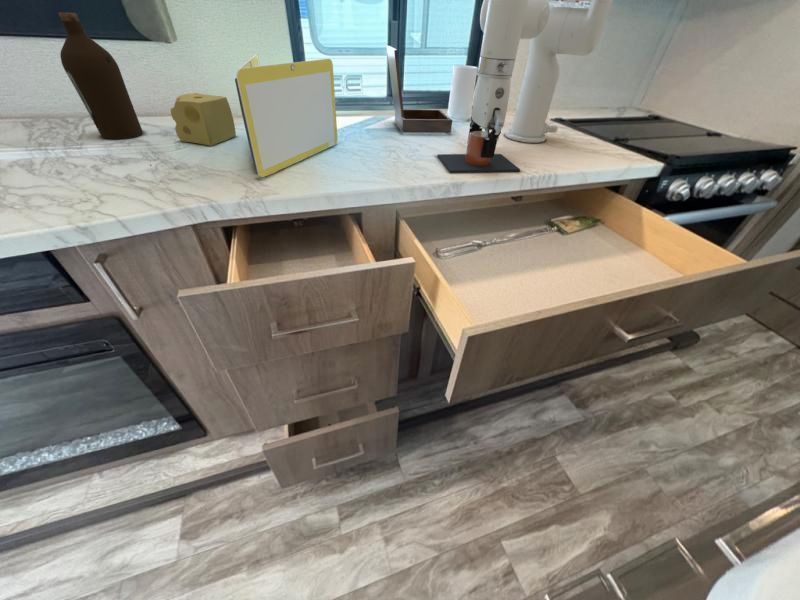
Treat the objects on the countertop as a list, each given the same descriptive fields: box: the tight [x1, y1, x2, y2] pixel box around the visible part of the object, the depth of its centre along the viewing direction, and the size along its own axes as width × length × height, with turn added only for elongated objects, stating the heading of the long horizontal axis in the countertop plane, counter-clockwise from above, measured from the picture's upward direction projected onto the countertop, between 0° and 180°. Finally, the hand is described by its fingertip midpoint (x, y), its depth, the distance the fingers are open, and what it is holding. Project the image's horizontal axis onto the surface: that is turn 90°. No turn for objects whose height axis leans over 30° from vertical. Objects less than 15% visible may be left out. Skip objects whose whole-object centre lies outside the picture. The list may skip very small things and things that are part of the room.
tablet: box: [234, 53, 338, 178], centre depth 78 cm, size 35×22×20 cm, turn 14°
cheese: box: [170, 92, 237, 147], centre depth 87 cm, size 10×11×10 cm
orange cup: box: [465, 130, 490, 166], centre depth 83 cm, size 6×6×7 cm
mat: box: [437, 153, 521, 174], centre depth 85 cm, size 18×12×1 cm, turn 100°
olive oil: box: [57, 12, 144, 140], centre depth 82 cm, size 11×11×25 cm
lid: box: [386, 45, 404, 118], centre depth 100 cm, size 16×15×1 cm
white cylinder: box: [446, 64, 478, 121], centre depth 117 cm, size 8×8×16 cm
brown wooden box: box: [394, 108, 453, 134], centre depth 108 cm, size 16×15×4 cm
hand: (479, 150), depth 83 cm, fingers open, 9 cm apart
